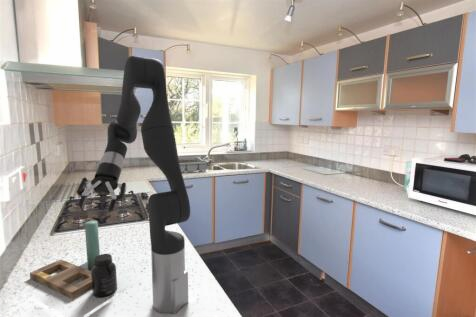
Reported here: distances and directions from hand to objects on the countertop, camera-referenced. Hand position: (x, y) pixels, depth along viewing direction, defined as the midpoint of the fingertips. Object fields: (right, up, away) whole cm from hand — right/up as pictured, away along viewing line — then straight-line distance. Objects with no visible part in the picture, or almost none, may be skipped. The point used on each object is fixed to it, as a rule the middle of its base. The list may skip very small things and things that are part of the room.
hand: (95, 210), depth 90 cm
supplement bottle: (+4, -25, -3) cm, 26 cm away
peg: (-6, -22, +11) cm, 25 cm away
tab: (-6, -23, +11) cm, 26 cm away
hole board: (-11, -24, +2) cm, 26 cm away
